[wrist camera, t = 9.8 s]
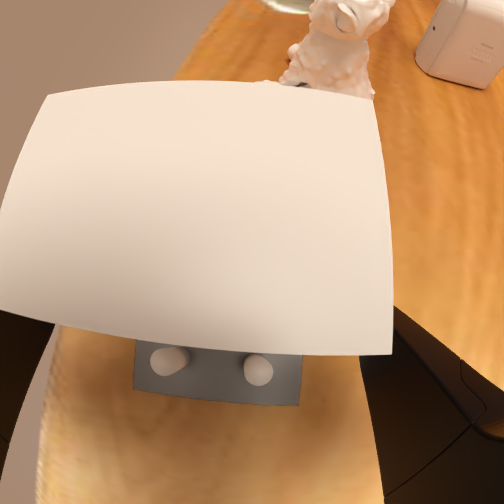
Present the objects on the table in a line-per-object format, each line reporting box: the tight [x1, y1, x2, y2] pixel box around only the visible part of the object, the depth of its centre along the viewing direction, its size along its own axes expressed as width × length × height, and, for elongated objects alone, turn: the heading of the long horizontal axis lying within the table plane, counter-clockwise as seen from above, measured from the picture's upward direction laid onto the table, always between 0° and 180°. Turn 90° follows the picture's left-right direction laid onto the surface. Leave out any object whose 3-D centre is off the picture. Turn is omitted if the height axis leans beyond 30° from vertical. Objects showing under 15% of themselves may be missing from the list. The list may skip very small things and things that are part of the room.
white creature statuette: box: [254, 0, 395, 100], centre depth 16 cm, size 10×9×12 cm
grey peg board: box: [133, 339, 303, 406], centre depth 15 cm, size 11×9×4 cm
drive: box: [0, 81, 393, 355], centre depth 10 cm, size 4×6×13 cm, turn 86°
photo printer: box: [415, 0, 504, 89], centre depth 19 cm, size 10×4×12 cm, turn 96°
